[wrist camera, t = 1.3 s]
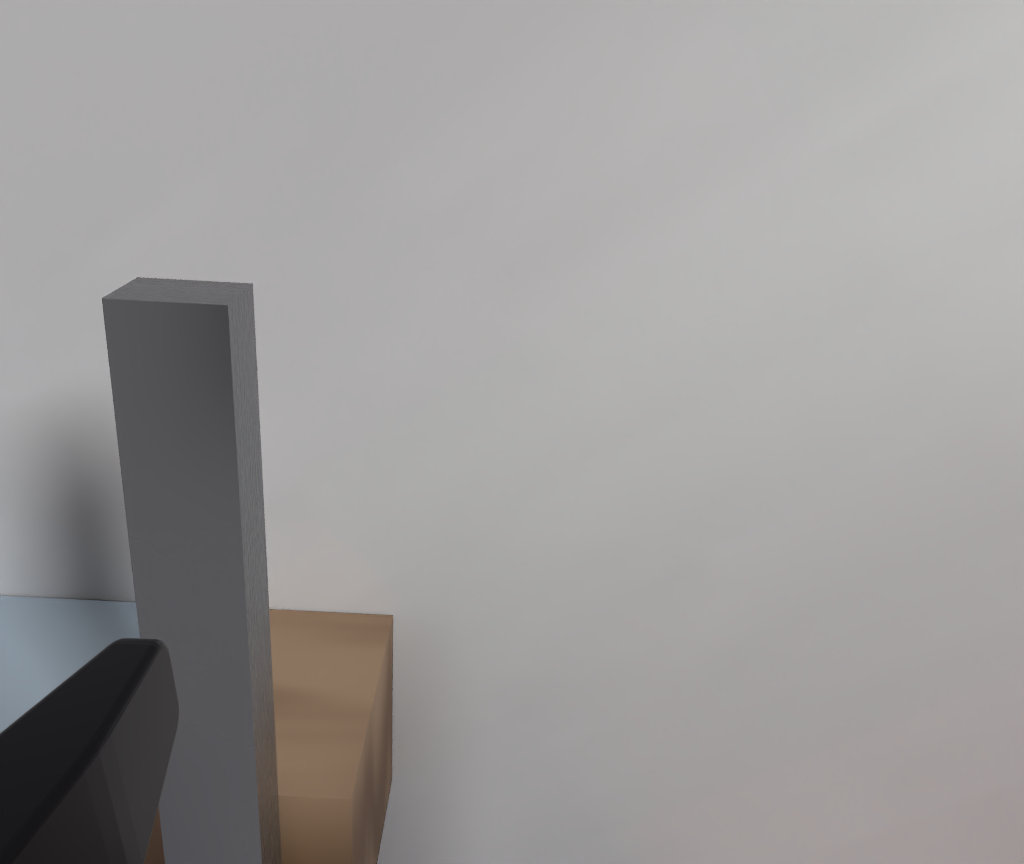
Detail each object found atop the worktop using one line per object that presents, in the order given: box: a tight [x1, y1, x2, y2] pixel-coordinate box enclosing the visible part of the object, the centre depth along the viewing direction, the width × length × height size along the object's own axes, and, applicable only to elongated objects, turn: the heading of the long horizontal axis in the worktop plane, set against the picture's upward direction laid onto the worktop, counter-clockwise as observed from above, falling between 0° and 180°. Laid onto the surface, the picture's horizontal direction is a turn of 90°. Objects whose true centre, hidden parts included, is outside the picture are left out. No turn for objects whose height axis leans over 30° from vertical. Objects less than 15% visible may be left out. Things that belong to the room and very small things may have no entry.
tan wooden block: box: [144, 609, 393, 864], centre depth 21 cm, size 5×4×6 cm
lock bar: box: [102, 277, 282, 864], centre depth 15 cm, size 13×2×2 cm, turn 177°
